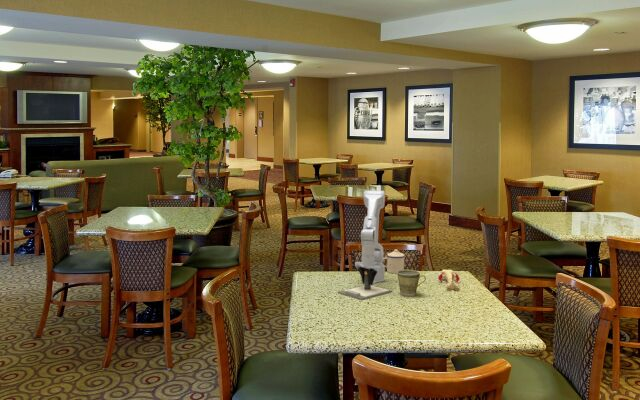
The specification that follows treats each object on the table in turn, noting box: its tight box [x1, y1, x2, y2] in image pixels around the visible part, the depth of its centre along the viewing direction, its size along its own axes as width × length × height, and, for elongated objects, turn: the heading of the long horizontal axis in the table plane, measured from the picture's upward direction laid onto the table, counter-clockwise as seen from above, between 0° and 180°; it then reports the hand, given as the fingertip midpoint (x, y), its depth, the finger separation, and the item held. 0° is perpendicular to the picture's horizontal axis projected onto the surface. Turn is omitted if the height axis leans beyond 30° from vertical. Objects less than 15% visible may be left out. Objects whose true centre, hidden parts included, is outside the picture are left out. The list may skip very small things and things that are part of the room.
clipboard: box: [337, 284, 393, 301], centre depth 270 cm, size 20×15×2 cm
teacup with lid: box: [382, 249, 406, 275], centre depth 310 cm, size 12×9×12 cm
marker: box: [363, 271, 371, 289], centre depth 272 cm, size 3×3×8 cm
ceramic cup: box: [396, 269, 427, 297], centre depth 267 cm, size 13×10×10 cm
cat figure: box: [437, 269, 460, 292], centre depth 286 cm, size 10×9×25 cm
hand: (367, 284), depth 273 cm, fingers closed on marker, 3 cm apart
